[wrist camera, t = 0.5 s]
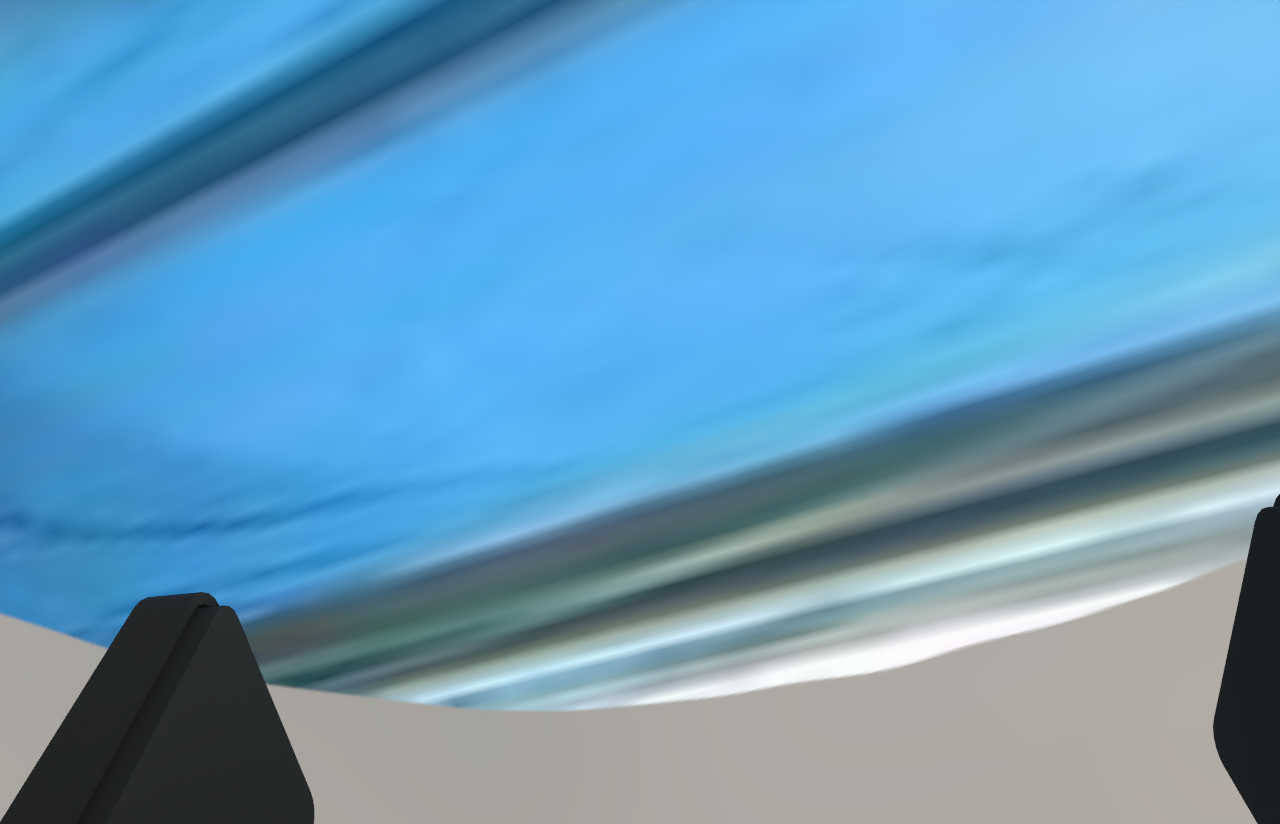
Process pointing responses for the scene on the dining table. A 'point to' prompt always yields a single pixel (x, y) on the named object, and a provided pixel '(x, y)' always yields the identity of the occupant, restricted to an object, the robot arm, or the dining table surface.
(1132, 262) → the dining table surface
